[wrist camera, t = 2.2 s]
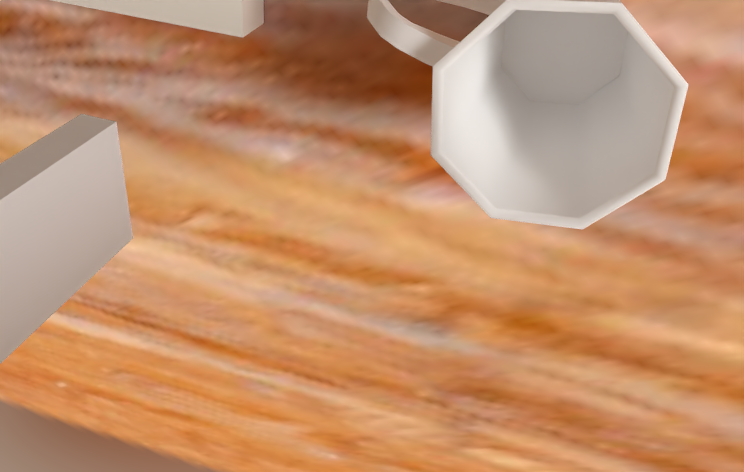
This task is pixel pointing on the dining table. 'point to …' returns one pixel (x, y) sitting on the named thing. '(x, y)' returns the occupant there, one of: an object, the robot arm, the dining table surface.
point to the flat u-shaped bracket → (189, 12)
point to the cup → (547, 106)
